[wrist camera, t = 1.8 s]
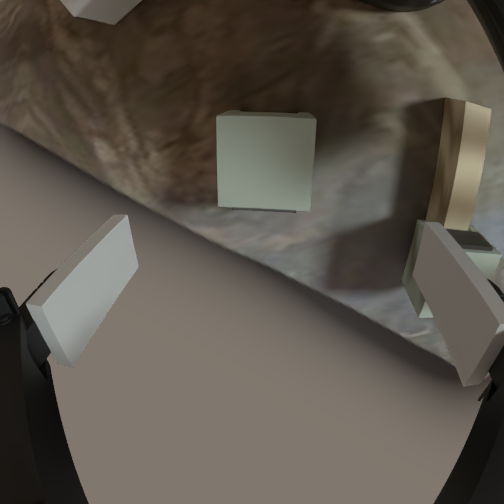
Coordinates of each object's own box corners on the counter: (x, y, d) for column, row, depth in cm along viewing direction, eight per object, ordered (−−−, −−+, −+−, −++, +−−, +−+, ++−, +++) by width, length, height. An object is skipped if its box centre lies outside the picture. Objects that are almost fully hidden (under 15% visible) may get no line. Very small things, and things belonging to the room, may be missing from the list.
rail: (427, 93, 23) (471, 99, 16) (484, 109, 22) (533, 123, 16) (396, 270, 32) (418, 317, 25) (447, 272, 32) (475, 316, 25)
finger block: (229, 110, 26) (216, 115, 21) (309, 112, 26) (316, 119, 20) (230, 187, 30) (218, 211, 25) (304, 191, 29) (309, 216, 24)
